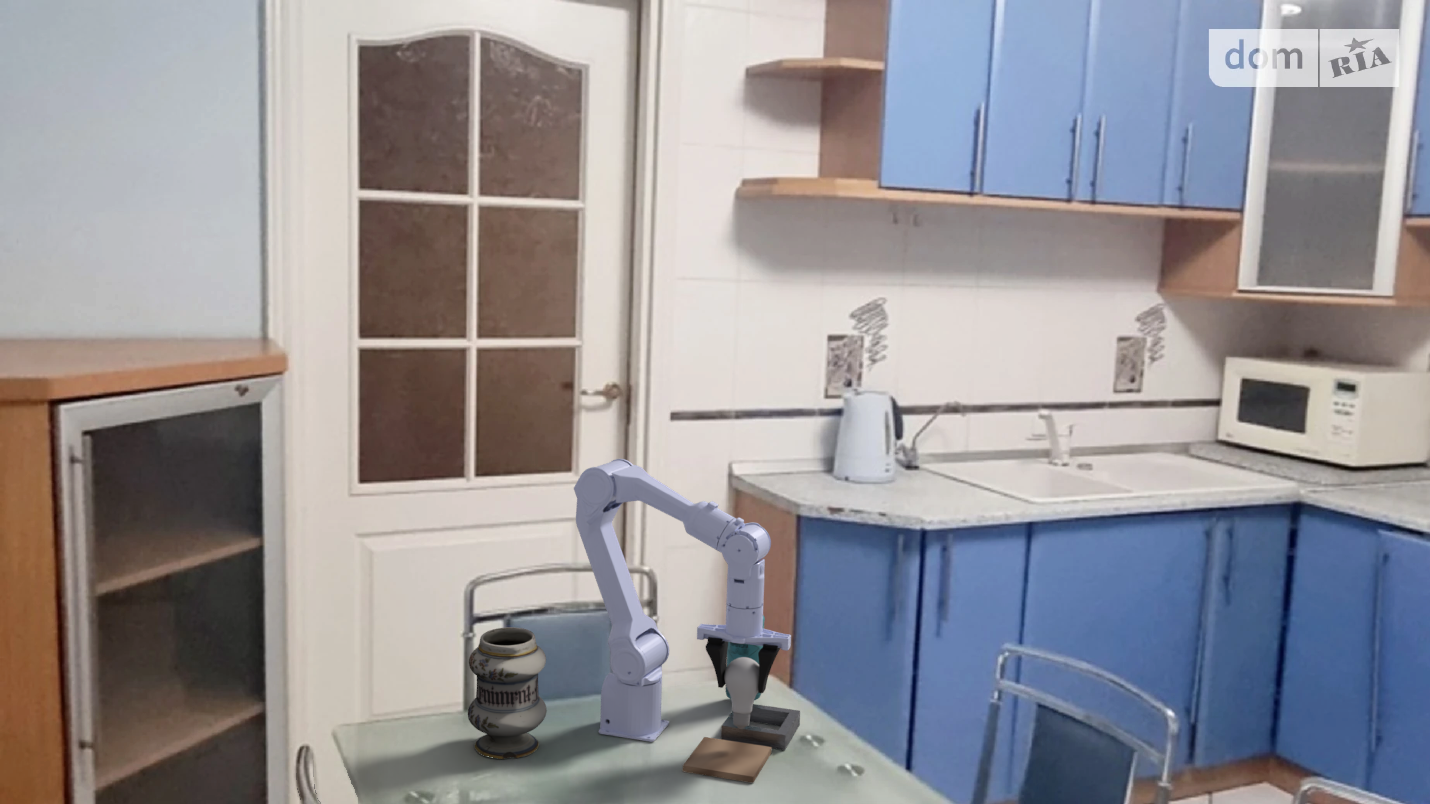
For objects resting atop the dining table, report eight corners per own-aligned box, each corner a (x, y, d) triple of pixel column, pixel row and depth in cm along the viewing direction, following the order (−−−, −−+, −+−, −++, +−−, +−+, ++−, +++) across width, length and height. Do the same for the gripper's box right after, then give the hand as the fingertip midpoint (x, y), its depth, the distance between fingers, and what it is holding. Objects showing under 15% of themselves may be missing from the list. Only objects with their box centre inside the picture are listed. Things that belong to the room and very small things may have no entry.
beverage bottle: (726, 694, 211) (730, 584, 208) (764, 697, 210) (768, 587, 208) (721, 708, 205) (725, 595, 202) (760, 712, 204) (764, 598, 201)
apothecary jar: (475, 767, 180) (475, 652, 177) (461, 735, 191) (461, 626, 188) (554, 757, 184) (555, 644, 182) (536, 726, 195) (537, 619, 193)
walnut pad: (682, 771, 180) (682, 765, 180) (704, 742, 191) (704, 736, 191) (753, 783, 177) (753, 776, 177) (771, 753, 188) (771, 747, 188)
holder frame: (720, 740, 192) (721, 725, 192) (738, 716, 202) (739, 701, 202) (784, 750, 189) (785, 735, 189) (799, 725, 199) (800, 710, 199)
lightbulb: (756, 734, 183) (760, 662, 183) (717, 730, 184) (721, 658, 185) (764, 726, 189) (767, 656, 189) (726, 722, 190) (730, 652, 191)
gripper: (692, 605, 183) (689, 691, 185) (785, 616, 179) (781, 703, 181) (705, 592, 190) (702, 675, 191) (795, 603, 186) (791, 687, 188)
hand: (741, 688), depth 187 cm, fingers closed on lightbulb, 6 cm apart
